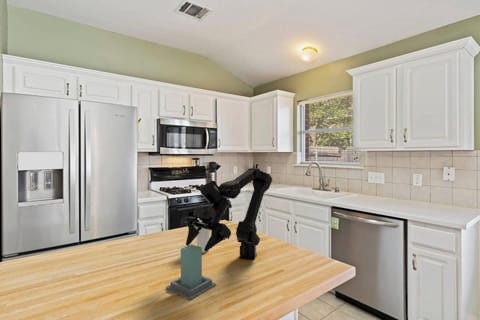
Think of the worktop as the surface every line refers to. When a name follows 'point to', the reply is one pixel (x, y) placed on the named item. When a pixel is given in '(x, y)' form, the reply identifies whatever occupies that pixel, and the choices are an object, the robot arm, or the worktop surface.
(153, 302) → the worktop surface
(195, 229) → the robot arm
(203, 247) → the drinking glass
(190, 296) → the socket holder
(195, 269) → the teal block
